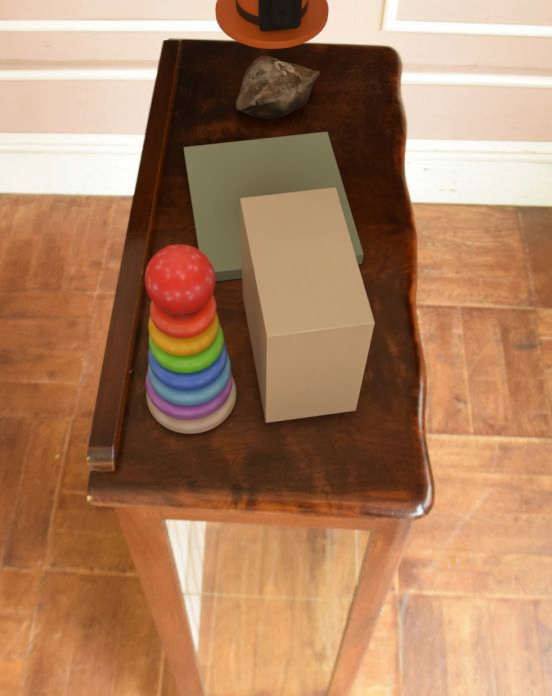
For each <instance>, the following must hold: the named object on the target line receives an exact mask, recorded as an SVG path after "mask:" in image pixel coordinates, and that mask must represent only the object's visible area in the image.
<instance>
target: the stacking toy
mask: <svg viewBox="0 0 552 696" xmlns="http://www.w3.org/2000/svg"><path fill="white" fill-rule="evenodd" d="M144 285H145V289H146V292H147V294H148V296H149V298H150V300H151V301H150V304H149V317H148V323H147V329H148V333H149V336H148V346H149V348H148V352H147V360H148V365H147V371H146V375H145V390H146V392H145V396H146V397H145V398H146V404H147V408H148V410H149V412H150V414H151V415H152V417H153V418H154V419H155V420H156V422H158V423H159V425H161V426H163V427H164V428H166V429H167V430H170V431H172V432H175V433H180V434H193V435H194V434H201V433H204V432H208V431H210V430H213V429H214V428H216V427H218V426H219V425H221V424H222V423H223V422H224V421H226V419H227V418H228V417H229V416H230V414H231V413H232V411H233V410H234V407H235V403H237V402H236V401H237V397H238V396H237V394H238V391H237V385H236V381H235V379H234V376H233V373H232V364H231V359H230V355H229V353H228V348H227V346H226V342H225V335H224V330H223V328H222V326H221V324H220V320H219V315H218V314H217V301H216V298H215V296H214V290H215V287H216V281H215V272H214V269H213V266H212V264H211V262H210V260H209V259H208V258H207V256H206V255H205V254H204V253H202V252H201V251H200V250H199V249H198V247H195V246H192V245H189V244H182V243H177V244H176V243H175V244H171V245H170V244H169V245H167V246H165V247H163V248H161V249H160V250H158V251H157V252H156V253H154V255H153V256H152V257H151V258H150V260H149V262H148V263H147V265H146V269H145V274H144Z"/></svg>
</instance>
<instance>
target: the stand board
mask: <svg viewBox="0 0 552 696" xmlns="http://www.w3.org/2000/svg"><path fill="white" fill-rule="evenodd" d="M183 154H184V162H185V163H184V164H185V169H186V176H187V182H188V189H189V194H190V195H189V196H190V197H189V198H190V203H191V209H192V216H193V223H194V229H195V236H196V244H197V249H199V250H200V251H201V252H202V253H204V254H205V255H206V256H207V258H208V259H209V260H210V262H211V264H212V266H213V269H214V272H215V282H222V281H231V280H239V279H242V253H241V218H240V198H246V197H254V196H263V195H272V194H281V193H289V192H298V191H307V190H316V189H324V188H333V187H336V190H337V193H338V197H339V200H340V204H341V207H342V211H343V214H344V217H345V221H346V224H347V228H348V231H349V235H350V238H351V242H352V245H353V249H354V252H355V256H356V259H357V263H358V265H361V264H363V260H364V251H363V247H362V243H361V241H360V237H359V234H358V231H357V227H356V224H355V220H354V217H353V214H352V210H351V207H350V203H349V200H348V197H347V193H346V190H345V187H344V183H343V180H342V175H341V172H340V169H339V166H338V163H337V159H336V157H335V153H334V148H333V146H332V142H331V140H330V136H329V132H328V131H321V132H312V133H301V134H295V135H294V134H293V135H285V136H283V135H282V136H274V137H265V138H256V139H248V140H247V139H246V140H238V141H229V142H219V143H218V142H217V143H210V144H202V145H201V144H200V145H191V146H184V147H183Z"/></svg>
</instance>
